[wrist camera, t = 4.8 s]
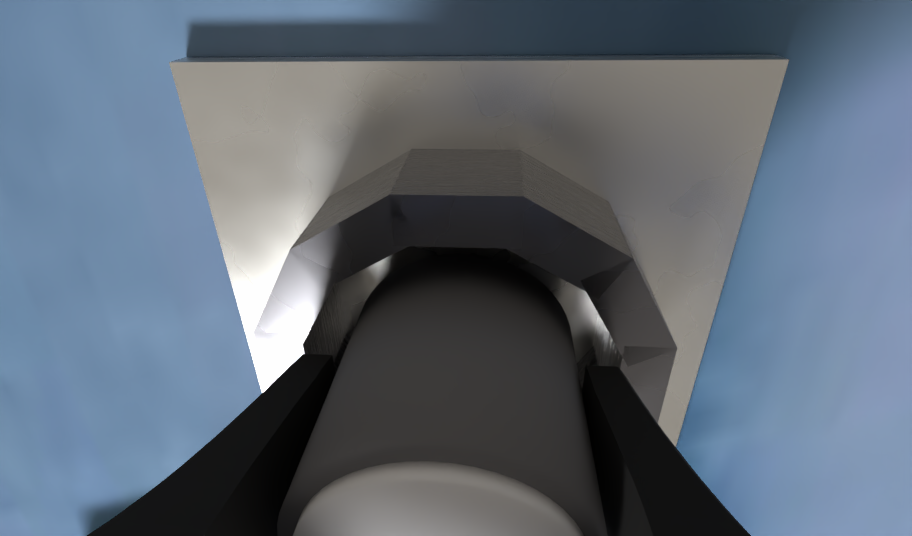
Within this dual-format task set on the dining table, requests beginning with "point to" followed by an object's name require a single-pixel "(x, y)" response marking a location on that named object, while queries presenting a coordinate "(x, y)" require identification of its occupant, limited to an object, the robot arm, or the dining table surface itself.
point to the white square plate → (485, 190)
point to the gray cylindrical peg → (451, 414)
